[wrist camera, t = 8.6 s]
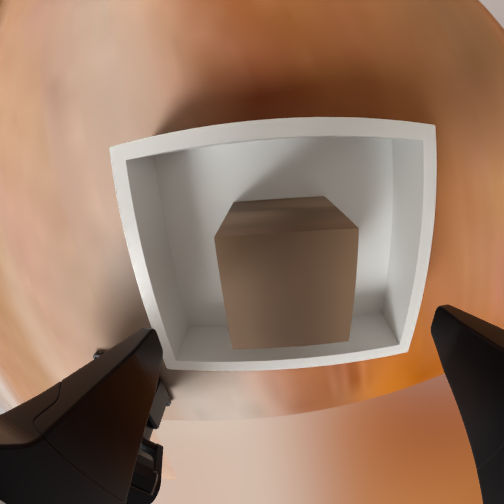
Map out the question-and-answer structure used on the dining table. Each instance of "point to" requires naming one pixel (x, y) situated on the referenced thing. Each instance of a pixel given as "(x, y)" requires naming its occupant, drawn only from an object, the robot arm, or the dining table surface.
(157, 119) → the dining table surface
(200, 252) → the bin
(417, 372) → the dining table surface
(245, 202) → the walnut block
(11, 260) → the dining table surface
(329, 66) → the dining table surface
